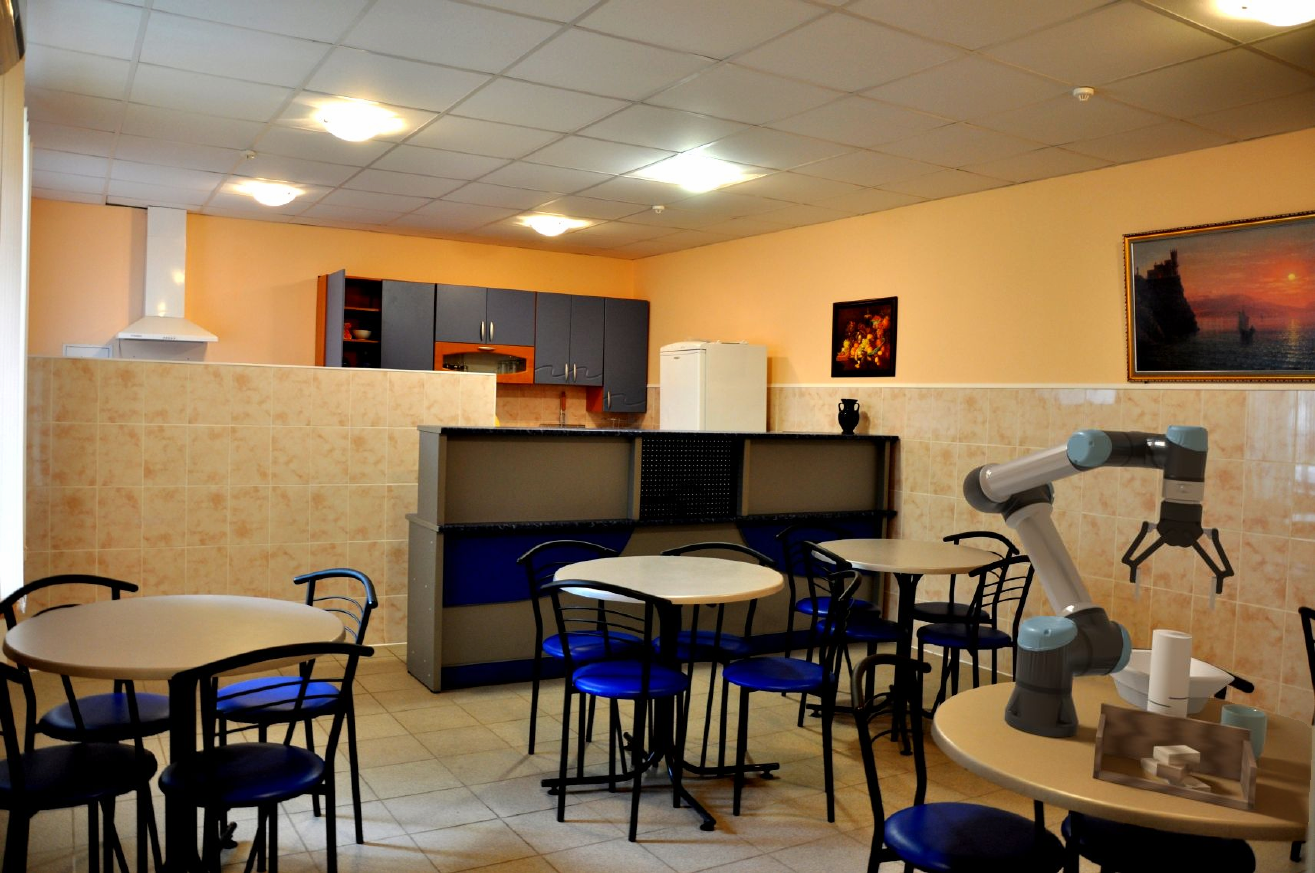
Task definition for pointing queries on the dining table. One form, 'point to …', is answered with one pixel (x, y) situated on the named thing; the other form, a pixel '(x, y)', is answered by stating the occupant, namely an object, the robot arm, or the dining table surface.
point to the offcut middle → (1173, 771)
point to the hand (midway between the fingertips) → (1173, 604)
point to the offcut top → (1176, 754)
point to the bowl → (1137, 677)
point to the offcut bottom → (1187, 782)
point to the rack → (1143, 730)
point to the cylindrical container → (1170, 672)
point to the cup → (1247, 724)
